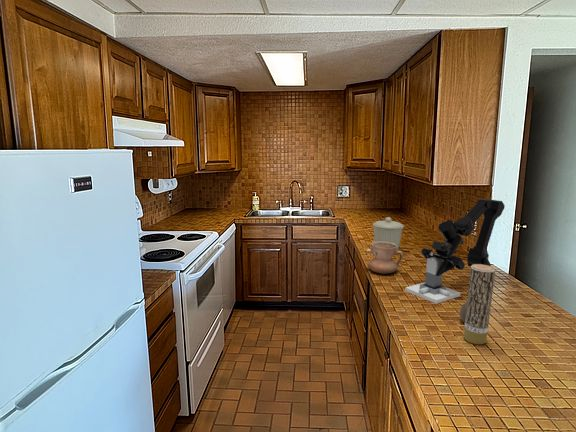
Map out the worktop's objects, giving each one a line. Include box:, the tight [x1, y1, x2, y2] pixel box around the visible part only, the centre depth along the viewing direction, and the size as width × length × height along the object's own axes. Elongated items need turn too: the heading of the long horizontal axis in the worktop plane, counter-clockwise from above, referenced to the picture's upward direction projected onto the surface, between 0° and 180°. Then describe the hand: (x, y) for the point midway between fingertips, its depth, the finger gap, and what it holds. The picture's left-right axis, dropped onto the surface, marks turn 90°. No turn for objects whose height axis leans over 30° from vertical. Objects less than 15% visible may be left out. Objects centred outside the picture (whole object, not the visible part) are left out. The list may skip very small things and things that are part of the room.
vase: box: [459, 301, 467, 324], centre depth 137 cm, size 7×7×9 cm
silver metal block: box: [424, 257, 443, 290], centre depth 163 cm, size 5×5×13 cm
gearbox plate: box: [404, 281, 462, 305], centre depth 164 cm, size 16×16×4 cm
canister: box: [372, 216, 405, 251], centre depth 228 cm, size 18×18×21 cm
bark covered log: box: [463, 264, 496, 345], centre depth 123 cm, size 7×7×25 cm
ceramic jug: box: [366, 241, 404, 275], centre depth 191 cm, size 18×14×14 cm
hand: (432, 273), depth 162 cm, fingers closed on silver metal block, 5 cm apart
